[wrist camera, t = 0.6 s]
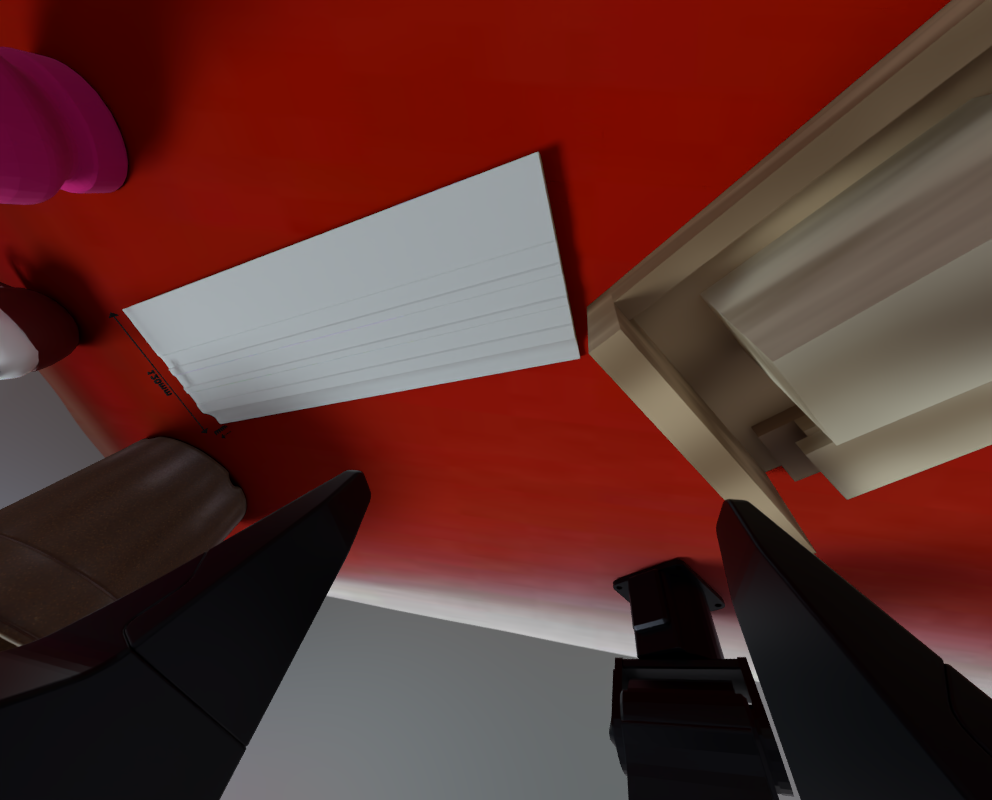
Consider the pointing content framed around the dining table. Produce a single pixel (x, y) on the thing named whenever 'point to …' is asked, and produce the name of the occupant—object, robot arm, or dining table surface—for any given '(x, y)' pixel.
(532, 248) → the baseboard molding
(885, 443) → the offcut stack
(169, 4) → the dining table surface
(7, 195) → the pepper mill
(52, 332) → the cocoa
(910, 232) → the beige wooden block
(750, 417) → the rack
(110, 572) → the plant pot
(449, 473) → the dining table surface
